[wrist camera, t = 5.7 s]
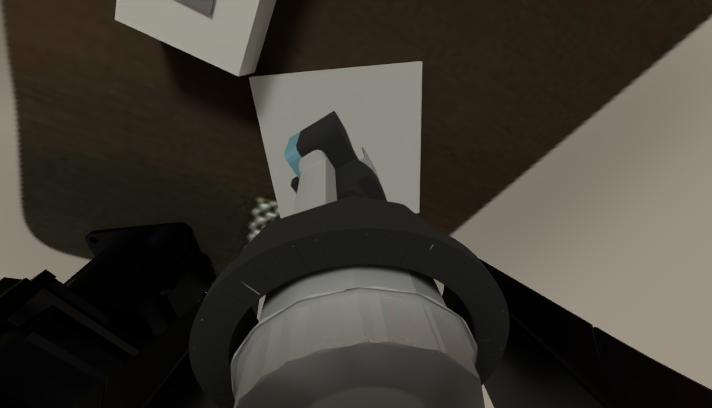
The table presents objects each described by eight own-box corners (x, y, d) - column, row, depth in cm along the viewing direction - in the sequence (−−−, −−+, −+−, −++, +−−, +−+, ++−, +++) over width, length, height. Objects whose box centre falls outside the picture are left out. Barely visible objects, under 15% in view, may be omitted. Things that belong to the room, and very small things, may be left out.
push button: (427, 210, 14) (589, 467, 6) (333, 258, 15) (343, 549, 6) (361, 82, 11) (483, 191, 3) (249, 150, 12) (50, 410, 3)
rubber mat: (284, 220, 20) (282, 226, 19) (252, 76, 16) (248, 77, 15) (416, 207, 20) (419, 212, 19) (418, 61, 16) (422, 61, 15)
